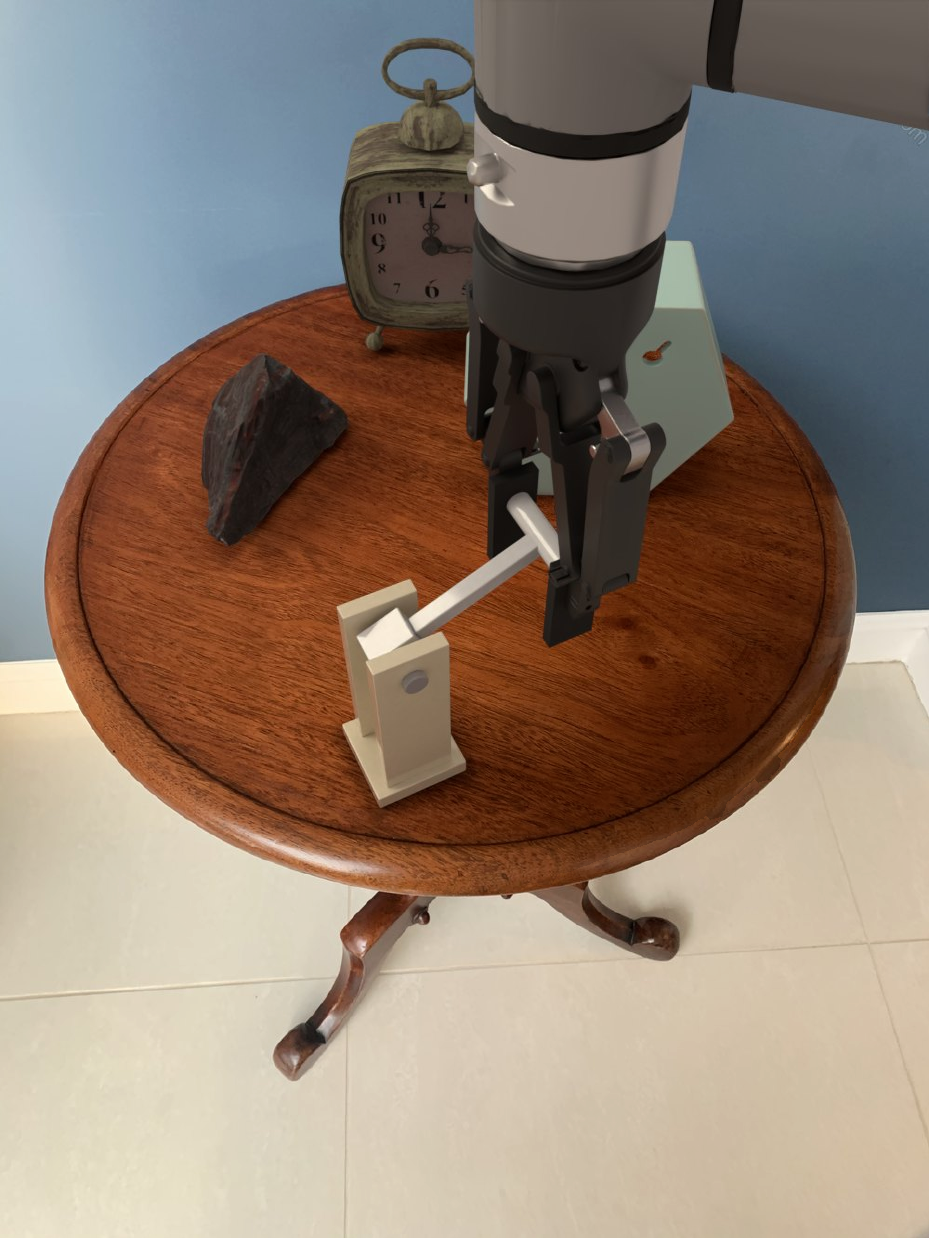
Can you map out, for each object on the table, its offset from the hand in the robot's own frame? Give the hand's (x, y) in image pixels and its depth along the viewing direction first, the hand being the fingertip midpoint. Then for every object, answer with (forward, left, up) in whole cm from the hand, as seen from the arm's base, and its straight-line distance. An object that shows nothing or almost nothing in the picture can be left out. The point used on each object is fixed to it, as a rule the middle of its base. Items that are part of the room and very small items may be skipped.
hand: (537, 591), depth 56 cm
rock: (+24, -13, -12) cm, 30 cm away
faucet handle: (+3, +3, +1) cm, 4 cm away
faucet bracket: (+6, +6, -12) cm, 15 cm away
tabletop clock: (+19, -35, -12) cm, 42 cm away
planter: (+2, -23, -12) cm, 26 cm away
